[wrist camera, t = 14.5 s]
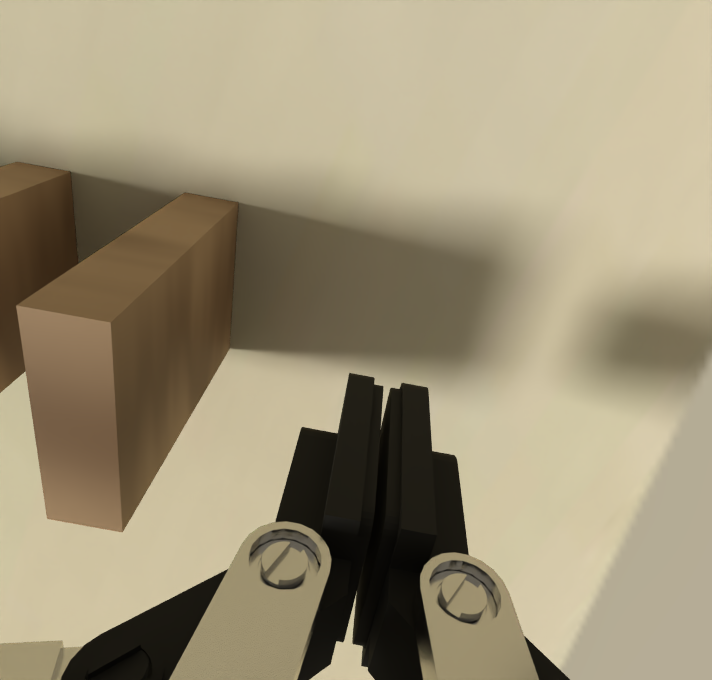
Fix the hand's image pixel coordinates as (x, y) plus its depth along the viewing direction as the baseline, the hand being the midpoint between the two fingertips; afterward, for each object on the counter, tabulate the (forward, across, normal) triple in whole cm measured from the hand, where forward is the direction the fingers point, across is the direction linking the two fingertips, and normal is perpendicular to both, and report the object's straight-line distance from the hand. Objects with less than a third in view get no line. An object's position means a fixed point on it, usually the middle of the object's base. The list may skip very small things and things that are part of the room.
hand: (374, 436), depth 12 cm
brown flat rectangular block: (+6, +6, 0) cm, 9 cm away
